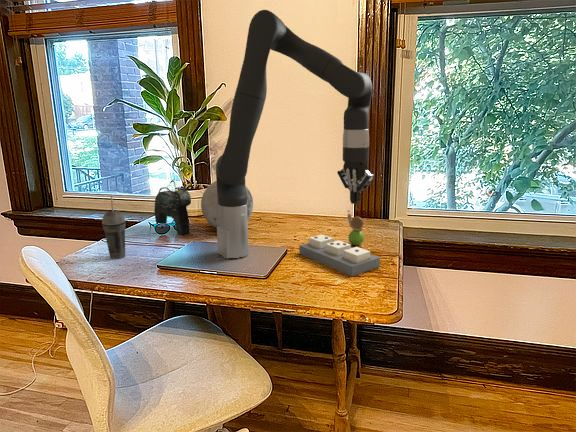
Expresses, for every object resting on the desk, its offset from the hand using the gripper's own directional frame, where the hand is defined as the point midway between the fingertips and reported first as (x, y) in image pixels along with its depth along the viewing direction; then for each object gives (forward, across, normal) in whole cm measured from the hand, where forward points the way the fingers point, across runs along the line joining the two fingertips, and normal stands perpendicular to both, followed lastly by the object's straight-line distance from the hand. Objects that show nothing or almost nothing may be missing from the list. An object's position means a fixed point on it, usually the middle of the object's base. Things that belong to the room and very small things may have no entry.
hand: (355, 203), depth 131 cm
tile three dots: (+16, -6, -1) cm, 18 cm away
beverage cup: (+18, -54, -54) cm, 79 cm away
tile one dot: (+17, +2, -1) cm, 17 cm away
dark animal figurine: (+18, -70, -28) cm, 77 cm away
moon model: (+19, -57, -10) cm, 61 cm away
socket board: (+19, -6, -1) cm, 20 cm away
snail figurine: (+20, -12, +14) cm, 27 cm away
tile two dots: (+16, -14, -1) cm, 22 cm away
